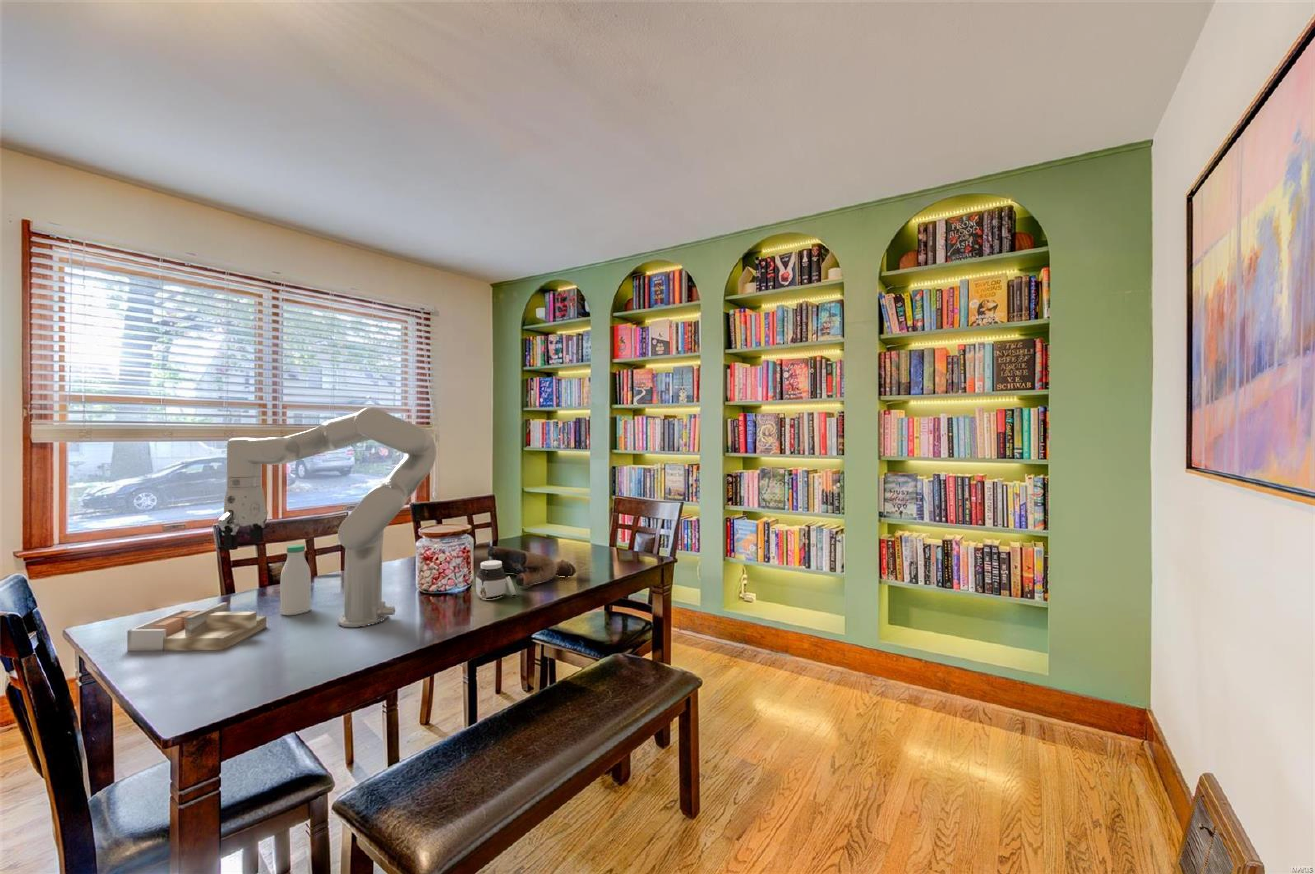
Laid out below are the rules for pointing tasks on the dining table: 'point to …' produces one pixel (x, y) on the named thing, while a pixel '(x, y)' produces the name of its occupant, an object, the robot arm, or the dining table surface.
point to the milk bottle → (295, 583)
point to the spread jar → (492, 580)
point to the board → (211, 637)
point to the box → (149, 635)
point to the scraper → (219, 619)
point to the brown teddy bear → (530, 565)
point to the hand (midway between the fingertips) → (244, 545)
